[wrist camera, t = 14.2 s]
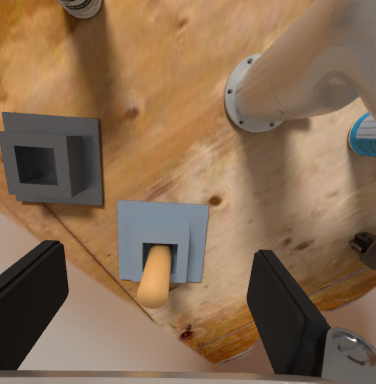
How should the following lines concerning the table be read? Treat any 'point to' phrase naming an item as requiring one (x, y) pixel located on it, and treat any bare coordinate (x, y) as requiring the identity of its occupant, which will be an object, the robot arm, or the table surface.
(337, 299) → the table surface
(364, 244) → the industrial component
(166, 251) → the lock pin
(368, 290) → the table surface
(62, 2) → the spray can
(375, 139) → the beverage bottle
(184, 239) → the socket block
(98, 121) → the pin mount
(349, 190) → the table surface
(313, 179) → the table surface
